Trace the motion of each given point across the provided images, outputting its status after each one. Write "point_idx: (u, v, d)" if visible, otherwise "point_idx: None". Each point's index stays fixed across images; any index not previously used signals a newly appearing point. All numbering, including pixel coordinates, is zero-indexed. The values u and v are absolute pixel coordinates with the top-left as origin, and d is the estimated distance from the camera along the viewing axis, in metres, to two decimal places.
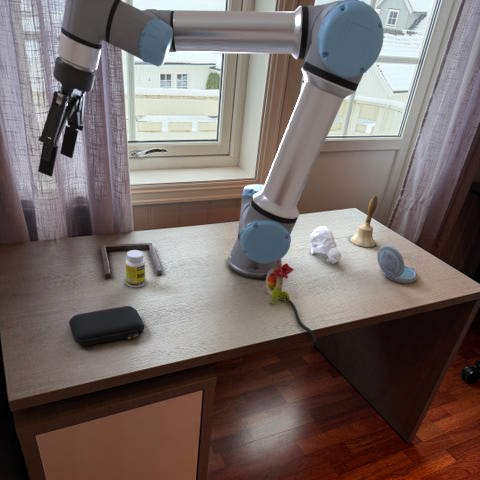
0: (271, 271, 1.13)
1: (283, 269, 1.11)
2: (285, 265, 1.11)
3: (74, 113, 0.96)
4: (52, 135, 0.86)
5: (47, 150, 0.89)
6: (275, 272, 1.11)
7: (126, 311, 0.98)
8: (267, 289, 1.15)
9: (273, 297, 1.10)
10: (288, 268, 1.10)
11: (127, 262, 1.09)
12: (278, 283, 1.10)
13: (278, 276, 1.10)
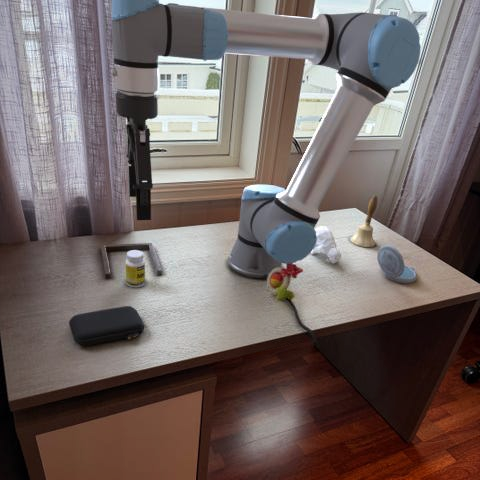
0: (277, 269, 1.14)
1: None
2: (293, 265, 1.12)
3: None
4: (148, 177, 0.81)
5: (144, 194, 0.84)
6: (283, 270, 1.12)
7: (126, 311, 0.98)
8: (268, 287, 1.15)
9: (280, 294, 1.10)
10: (297, 269, 1.11)
11: (127, 262, 1.09)
12: (286, 281, 1.11)
13: (287, 275, 1.11)
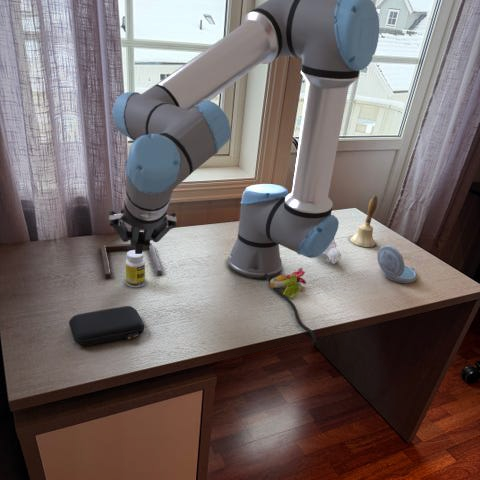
0: None
1: None
2: None
3: None
4: None
5: None
6: None
7: (126, 311, 0.98)
8: (274, 281, 1.17)
9: (293, 277, 1.14)
10: None
11: (127, 262, 1.09)
12: (295, 277, 1.18)
13: None
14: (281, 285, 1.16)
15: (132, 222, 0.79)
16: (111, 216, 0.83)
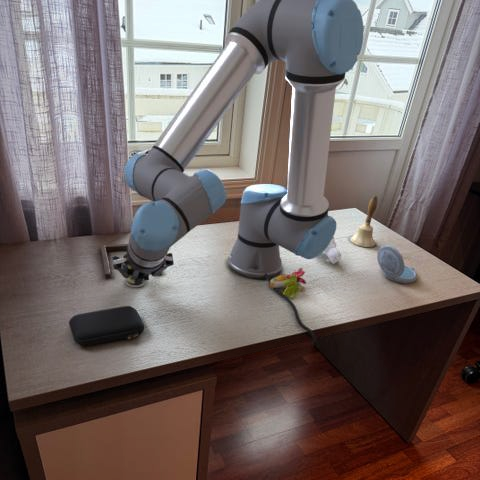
0: None
1: None
2: None
3: None
4: None
5: None
6: None
7: (126, 311, 0.98)
8: (274, 281, 1.17)
9: (293, 277, 1.14)
10: None
11: None
12: (295, 277, 1.18)
13: None
14: (281, 285, 1.16)
15: (135, 268, 0.88)
16: (115, 261, 0.92)
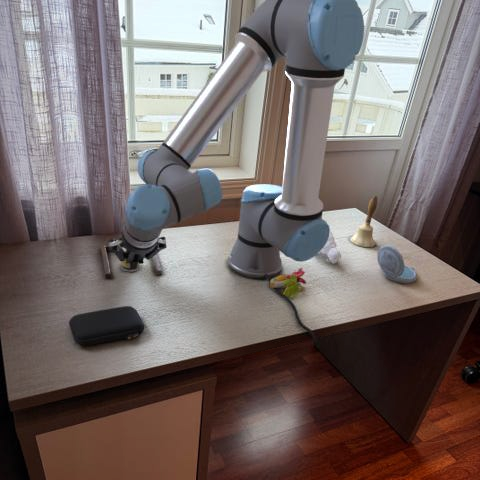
0: None
1: None
2: None
3: None
4: None
5: None
6: None
7: (126, 311, 0.98)
8: (274, 281, 1.17)
9: (293, 277, 1.14)
10: None
11: None
12: (295, 277, 1.18)
13: None
14: (281, 285, 1.16)
15: (130, 249, 0.94)
16: (111, 243, 0.98)
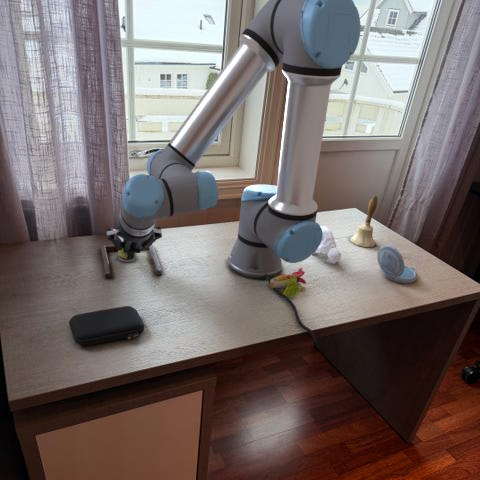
0: None
1: None
2: None
3: None
4: None
5: None
6: None
7: (126, 311, 0.98)
8: (274, 281, 1.17)
9: (293, 277, 1.14)
10: None
11: None
12: (295, 277, 1.18)
13: None
14: (281, 285, 1.16)
15: (126, 237, 0.98)
16: (108, 232, 1.02)
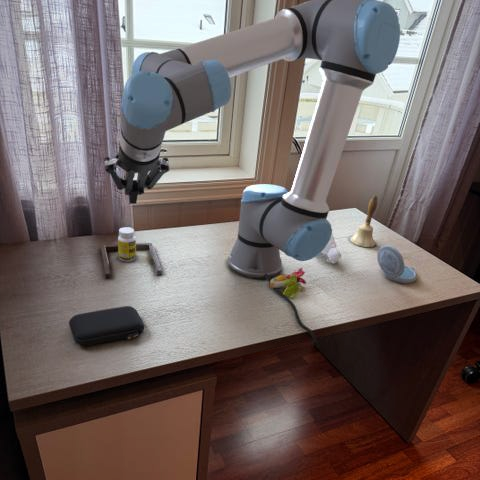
0: None
1: None
2: None
3: None
4: None
5: None
6: None
7: (126, 311, 0.98)
8: (274, 281, 1.17)
9: (293, 277, 1.14)
10: None
11: (119, 238, 1.19)
12: (295, 277, 1.18)
13: None
14: (281, 285, 1.16)
15: (128, 165, 0.83)
16: (106, 162, 0.86)
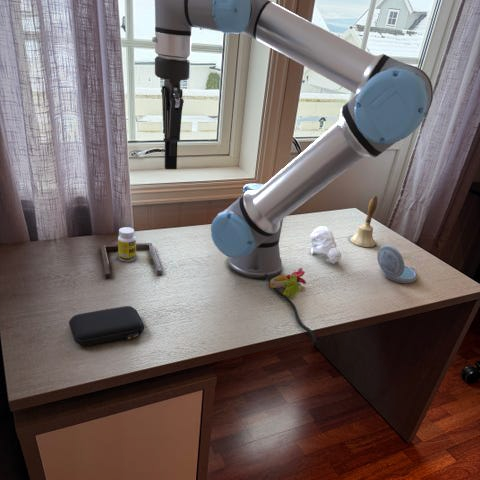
0: None
1: None
2: None
3: None
4: (177, 133, 1.01)
5: (172, 147, 1.04)
6: None
7: (126, 311, 0.98)
8: (274, 281, 1.17)
9: (293, 277, 1.14)
10: None
11: (119, 238, 1.19)
12: (295, 277, 1.18)
13: None
14: (281, 285, 1.16)
15: None
16: None
